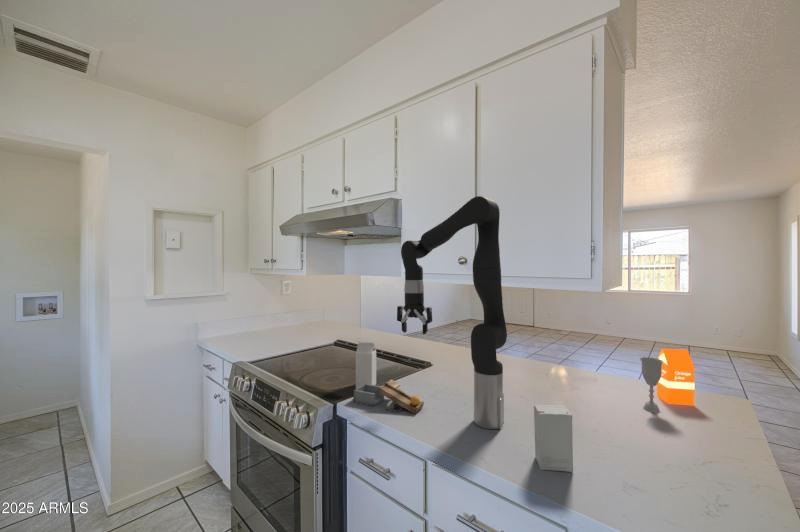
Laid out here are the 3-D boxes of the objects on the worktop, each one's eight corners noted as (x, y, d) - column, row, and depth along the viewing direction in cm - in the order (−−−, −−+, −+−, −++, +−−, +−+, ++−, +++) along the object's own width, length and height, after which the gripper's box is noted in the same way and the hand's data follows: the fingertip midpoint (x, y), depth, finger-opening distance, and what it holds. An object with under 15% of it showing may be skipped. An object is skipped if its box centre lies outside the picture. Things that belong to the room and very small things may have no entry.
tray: (384, 398, 130) (384, 387, 130) (373, 406, 123) (373, 394, 123) (364, 394, 134) (364, 383, 134) (353, 401, 127) (353, 390, 127)
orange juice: (694, 405, 124) (694, 352, 124) (667, 403, 126) (667, 351, 126) (681, 397, 132) (681, 347, 131) (656, 395, 133) (656, 346, 133)
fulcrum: (408, 402, 126) (408, 395, 126) (397, 412, 118) (397, 404, 118) (396, 400, 128) (396, 393, 128) (385, 409, 120) (385, 401, 120)
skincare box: (566, 460, 89) (566, 404, 89) (574, 474, 83) (574, 414, 83) (533, 457, 91) (533, 402, 90) (538, 470, 85) (538, 412, 85)
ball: (421, 405, 121) (421, 395, 120) (417, 408, 117) (418, 399, 117) (412, 402, 122) (413, 393, 122) (408, 406, 119) (409, 396, 119)
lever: (427, 402, 127) (429, 396, 126) (415, 414, 116) (417, 408, 116) (391, 381, 134) (392, 376, 133) (376, 391, 123) (378, 385, 123)
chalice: (642, 403, 125) (642, 356, 125) (664, 409, 121) (664, 359, 121) (637, 409, 120) (638, 360, 120) (661, 415, 116) (661, 364, 115)
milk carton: (371, 390, 139) (371, 344, 139) (355, 388, 140) (355, 343, 140) (376, 384, 146) (376, 341, 146) (360, 382, 147) (360, 340, 147)
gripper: (434, 291, 131) (434, 332, 130) (401, 290, 137) (402, 330, 137) (427, 292, 124) (427, 336, 124) (393, 291, 130) (393, 333, 130)
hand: (414, 332), depth 130 cm, fingers open, 8 cm apart
